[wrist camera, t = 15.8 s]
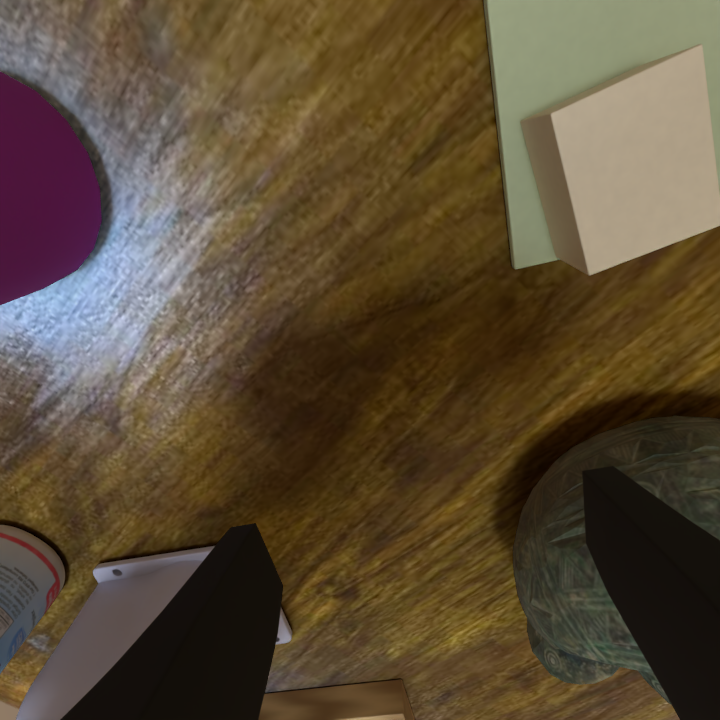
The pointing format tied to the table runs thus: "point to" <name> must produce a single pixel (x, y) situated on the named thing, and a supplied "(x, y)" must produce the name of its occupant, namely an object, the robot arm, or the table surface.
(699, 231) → the block
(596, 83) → the runner
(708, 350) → the table surface
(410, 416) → the table surface
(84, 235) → the beverage can
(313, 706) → the wooden frame
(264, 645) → the robot arm
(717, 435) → the dark green rounded piece
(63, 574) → the pill bottle
